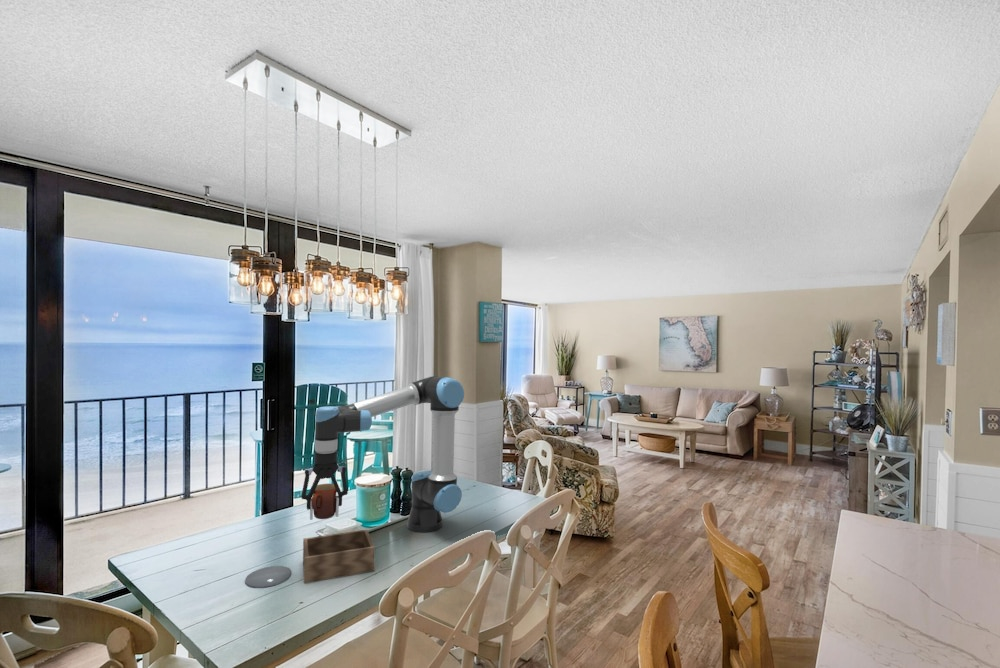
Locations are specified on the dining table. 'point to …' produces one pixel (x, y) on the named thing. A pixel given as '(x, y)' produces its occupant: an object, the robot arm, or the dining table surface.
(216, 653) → the dining table surface
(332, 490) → the mug
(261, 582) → the coaster
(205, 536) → the dining table surface
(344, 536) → the box
